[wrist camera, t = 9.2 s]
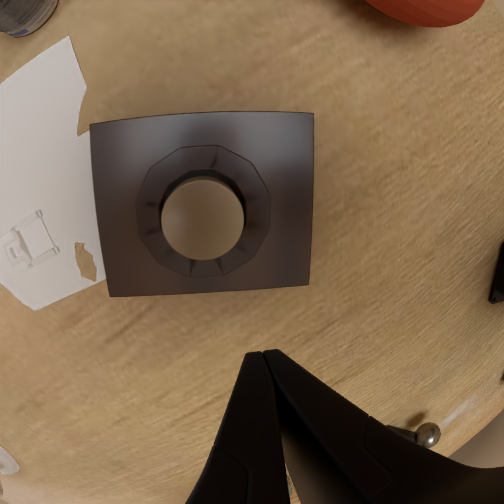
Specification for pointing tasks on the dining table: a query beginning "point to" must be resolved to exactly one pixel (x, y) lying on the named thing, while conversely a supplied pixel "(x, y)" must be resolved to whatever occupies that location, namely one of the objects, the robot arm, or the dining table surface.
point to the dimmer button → (202, 218)
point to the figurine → (7, 465)
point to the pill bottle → (24, 15)
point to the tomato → (429, 11)
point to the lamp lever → (427, 435)
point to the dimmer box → (213, 165)
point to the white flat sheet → (45, 180)
